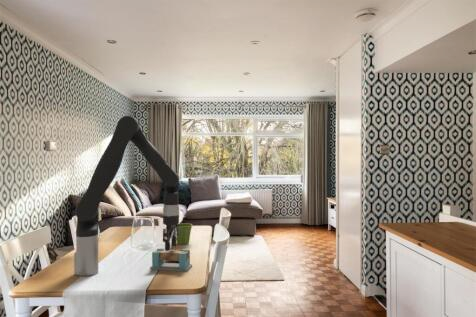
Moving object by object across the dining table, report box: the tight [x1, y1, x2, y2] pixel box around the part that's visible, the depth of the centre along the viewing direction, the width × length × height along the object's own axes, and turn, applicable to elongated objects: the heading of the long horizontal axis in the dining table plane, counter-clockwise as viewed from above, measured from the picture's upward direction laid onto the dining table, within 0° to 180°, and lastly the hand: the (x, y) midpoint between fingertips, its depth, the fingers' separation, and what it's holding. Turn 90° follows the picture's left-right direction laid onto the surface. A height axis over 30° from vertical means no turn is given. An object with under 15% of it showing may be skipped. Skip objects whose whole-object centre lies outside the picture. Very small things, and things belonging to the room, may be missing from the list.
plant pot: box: [176, 222, 193, 246], centre depth 220 cm, size 12×12×11 cm
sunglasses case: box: [164, 247, 184, 264], centre depth 186 cm, size 18×7×7 cm, turn 3°
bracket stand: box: [149, 248, 193, 272], centre depth 171 cm, size 18×8×8 cm, turn 81°
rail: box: [154, 249, 189, 261], centre depth 171 cm, size 16×4×4 cm, turn 82°
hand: (170, 248), depth 171 cm, fingers open, 8 cm apart
